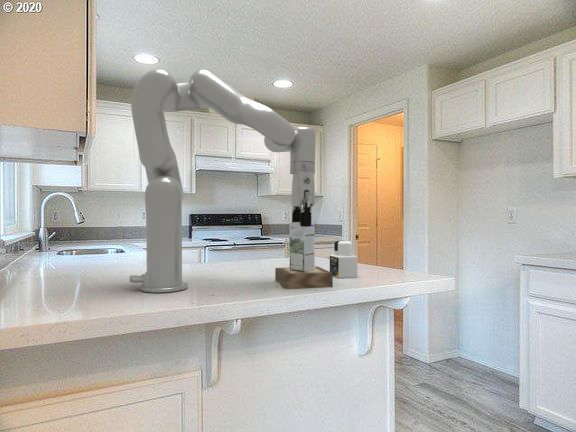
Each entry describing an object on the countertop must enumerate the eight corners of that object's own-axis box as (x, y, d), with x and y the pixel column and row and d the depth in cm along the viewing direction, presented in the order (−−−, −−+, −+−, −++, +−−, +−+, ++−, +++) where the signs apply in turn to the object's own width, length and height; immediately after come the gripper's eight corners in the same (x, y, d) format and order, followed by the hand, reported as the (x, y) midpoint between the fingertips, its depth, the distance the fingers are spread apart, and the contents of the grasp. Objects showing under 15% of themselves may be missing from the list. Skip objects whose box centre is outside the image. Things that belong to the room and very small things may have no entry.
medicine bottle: (329, 275, 134) (329, 240, 134) (348, 274, 136) (348, 239, 136) (338, 278, 127) (338, 241, 127) (357, 277, 129) (357, 241, 129)
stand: (285, 288, 109) (285, 274, 109) (275, 280, 123) (275, 267, 123) (332, 286, 113) (332, 272, 113) (317, 278, 126) (317, 266, 126)
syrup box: (315, 269, 118) (315, 222, 118) (304, 272, 113) (304, 222, 113) (300, 268, 122) (300, 221, 122) (288, 270, 117) (288, 222, 117)
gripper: (323, 166, 110) (322, 227, 110) (306, 172, 127) (305, 225, 127) (297, 165, 108) (296, 226, 108) (283, 171, 125) (282, 224, 125)
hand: (301, 225), depth 118 cm, fingers open, 9 cm apart
